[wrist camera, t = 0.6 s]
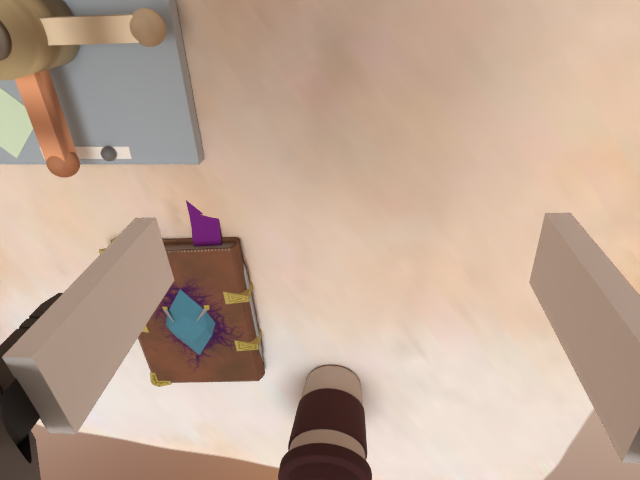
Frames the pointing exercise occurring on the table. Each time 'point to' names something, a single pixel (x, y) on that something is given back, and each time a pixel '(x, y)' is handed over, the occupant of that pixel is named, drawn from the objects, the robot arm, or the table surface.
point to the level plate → (115, 98)
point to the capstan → (59, 61)
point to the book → (204, 312)
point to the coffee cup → (328, 430)
